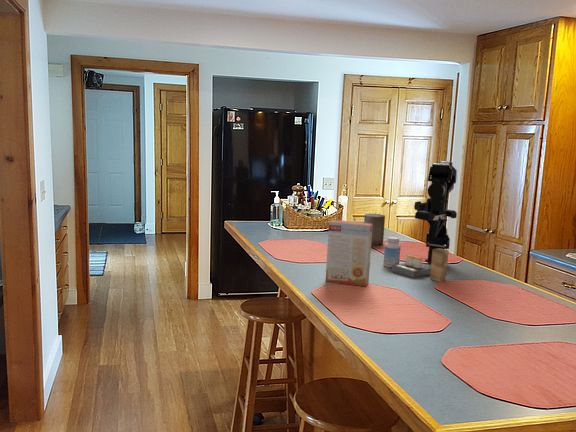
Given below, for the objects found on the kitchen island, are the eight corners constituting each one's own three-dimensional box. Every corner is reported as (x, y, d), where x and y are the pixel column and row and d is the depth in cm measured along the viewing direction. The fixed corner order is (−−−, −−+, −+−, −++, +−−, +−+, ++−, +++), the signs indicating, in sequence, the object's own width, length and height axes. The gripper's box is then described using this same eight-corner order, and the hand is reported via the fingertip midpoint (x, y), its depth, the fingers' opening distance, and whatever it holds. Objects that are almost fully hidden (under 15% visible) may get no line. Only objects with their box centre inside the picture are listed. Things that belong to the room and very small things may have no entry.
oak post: (436, 277, 192) (439, 248, 191) (445, 280, 189) (448, 250, 188) (429, 278, 190) (432, 249, 188) (438, 281, 187) (441, 251, 185)
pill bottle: (399, 268, 203) (401, 240, 201) (383, 266, 204) (385, 238, 203) (398, 264, 209) (401, 237, 207) (383, 263, 210) (385, 235, 208)
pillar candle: (386, 243, 252) (388, 212, 250) (378, 246, 244) (380, 214, 241) (367, 240, 257) (369, 210, 255) (359, 243, 249) (361, 212, 247)
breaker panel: (412, 268, 205) (413, 261, 204) (433, 274, 197) (434, 267, 196) (391, 271, 197) (392, 264, 197) (413, 278, 189) (413, 271, 189)
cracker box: (368, 283, 180) (373, 223, 177) (365, 287, 174) (370, 225, 171) (329, 277, 184) (333, 218, 181) (324, 281, 179) (328, 221, 176)
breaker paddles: (408, 263, 200) (409, 254, 199) (422, 267, 195) (423, 258, 194) (404, 264, 199) (405, 255, 198) (418, 268, 193) (419, 258, 193)
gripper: (435, 193, 211) (431, 231, 214) (405, 194, 200) (401, 234, 202) (459, 196, 203) (455, 236, 205) (429, 198, 191) (425, 240, 194)
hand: (434, 236), depth 202 cm, fingers closed
